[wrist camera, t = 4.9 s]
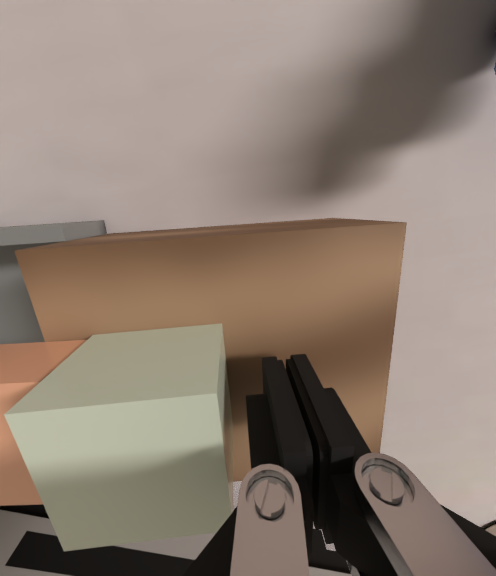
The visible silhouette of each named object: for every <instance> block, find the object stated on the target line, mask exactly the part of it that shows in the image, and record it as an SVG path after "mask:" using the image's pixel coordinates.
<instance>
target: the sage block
mask: <svg viewBox="0 0 496 576" xmlns="http://www.w3.org/2000/svg"><path fill="white" fill-rule="evenodd" d="M4 416H5V418H6V421H7V423H8V425H9V427H10V430H11V432H12V434H13V437H14V439H15V441H16V443H17V446H18V448H19V450H20V452H21V455H22V457H23V459H24V462H25V464H26V466H27V468H28V471H29V473H30V475H31V478H32V480H33V482H34V484H35V487H36V489H37V491H38V494H39V496H40V498H41V500H42V503H43V505H44V507H45V510H46V512H47V514H48V516H49V519H50V521H51V523H52V525H53V528H54V530H55V532H56V535H57V537H58V539H59V541H60V544H61V546H62V548H63V551H72V550H80V549H88V548H96V547H104V546H112V545H120V544H128V543H136V542H144V541H152V540H160V539H168V538H176V537H184V536H192V535H200V534H208V533H216V532H217V531H218V530H219V529H220V528H221V526H222V525H223V524H224V522H225V521H226V520H227V519H228V517H229V516H230V515H231V514H232V512H233V511H234V508H233V422H232V413H231V403H230V393H229V384H228V374H227V365H226V355H225V346H224V336H223V327H222V323H221V324H210V325H198V326H187V327H176V328H164V329H153V330H142V331H130V332H119V333H108V334H97V335H92V336H91V337H90V338H89V339H88V340H87V341H86V342H84V343H83V344H82V345H81V346H80V347H79V348H78V349H77V350H75V351H74V352H73V353H72V354H71V355H70V356H69V357H68V358H67V359H65V360H64V361H63V362H62V363H61V364H60V365H59V366H58V367H56V368H55V369H54V370H53V371H52V372H51V373H50V374H49V375H48V376H46V377H45V378H44V379H43V380H42V381H41V382H40V383H39V384H38V385H36V386H35V387H34V388H33V389H32V390H31V391H30V392H29V393H27V394H26V395H25V396H24V397H23V398H22V399H21V400H20V401H19V402H17V403H16V404H15V405H14V406H13V407H12V408H11V409H10V410H8V411H7V412H6V413H5V414H4Z"/></svg>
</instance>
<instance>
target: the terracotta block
mask: <svg viewBox="0 0 496 576" xmlns="http://www.w3.org/2000/svg"><path fill="white" fill-rule="evenodd" d="M86 341H87V340H72V341H53V342H35V343H16V344H0V506H6V505H40V504H43V503H42V500H41V498H40V496H39V494H38V491H37V489H36V487H35V484H34V482H33V480H32V478H31V475H30V473H29V471H28V468H27V466H26V464H25V462H24V459H23V457H22V455H21V452H20V450H19V448H18V446H17V443H16V441H15V439H14V437H13V434H12V432H11V430H10V427H9V425H8V423H7V421H6V418H5V416H4V414H5V413H6V412H7V411H8V410H10V409H11V408H12V407H13V406H14V405H15V404H16V403H17V402H19V401H20V400H21V399H22V398H23V397H24V396H25V395H26V394H27V393H29V392H30V391H31V390H32V389H33V388H34V387H35V386H36V385H38V384H39V383H40V382H41V381H42V380H43V379H44V378H45V377H46V376H48V375H49V374H50V373H51V372H52V371H53V370H54V369H55V368H56V367H58V366H59V365H60V364H61V363H62V362H63V361H64V360H65V359H67V358H68V357H69V356H70V355H71V354H72V353H73V352H74V351H75V350H77V349H78V348H79V347H80V346H81V345H82V344H83V343H84V342H86Z"/></svg>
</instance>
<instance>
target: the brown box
mask: <svg viewBox="0 0 496 576" xmlns="http://www.w3.org/2000/svg"><path fill="white" fill-rule="evenodd" d="M406 224H407V223H406V222H390V221H373V220H356V219H340V218H327V219H313V220H299V221H284V222H270V223H256V224H242V225H227V226H213V227H199V228H184V229H170V230H156V231H141V232H127V233H113V234H105V235H99V236H93V237H88V238H82V239H77V240H71V241H65V242H60V243H54V244H49V245H43V246H37V247H32V248H26V249H20V250H15V251H14V252H15V254H16V257H17V260H18V263H19V266H20V269H21V272H22V275H23V278H24V281H25V284H26V287H27V290H28V293H29V296H30V299H31V302H32V305H33V308H34V311H35V314H36V316H37V319H38V322H39V325H40V328H41V331H42V334H43V337H44V340H45V342H53V341H72V340H88V339H89V338H90V337H91V336H92V335H97V334H108V333H119V332H130V331H142V330H153V329H164V328H176V327H187V326H198V325H210V324H221V323H222V327H223V336H224V346H225V355H226V365H227V374H228V384H229V393H230V403H231V413H232V422H233V482H234V481H243V479H244V477H245V476H246V474H247V473H248V472H249V471H251V461H250V449H249V436H248V423H247V409H246V395H255V394H263V375H262V357H273V356H276V357H277V360H282V361H283V363H284V366H285V369H286V359H290V356H291V355H296V354H306V355H307V357H308V359H309V361H310V363H311V365H312V367H313V369H314V371H315V372H316V374H317V376H318V378H319V380H320V382H321V384H322V386H323V388H331V387H332V388H333V389H334V390H335V391H336V393H337V394H338V396H339V398H340V399H341V401H342V403H343V405H344V406H345V408H346V410H347V411H348V413H349V415H350V417H351V418H352V420H353V422H354V423H355V425H356V427H357V428H358V430H359V432H360V434H361V435H362V437H363V439H364V440H365V442H366V444H367V446H368V447H369V449H370V451H371V452H372V453H380V445H381V437H382V428H383V420H384V411H385V403H386V394H387V386H388V377H389V369H390V360H391V352H392V343H393V335H394V326H395V318H396V309H397V301H398V292H399V284H400V275H401V267H402V258H403V250H404V241H405V233H406Z"/></svg>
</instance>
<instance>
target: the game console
mask: <svg viewBox="0 0 496 576" xmlns="http://www.w3.org/2000/svg"><path fill="white" fill-rule="evenodd" d="M216 533H217V532H216ZM216 533H208V534H200V535H192V536H184V537H176V538H168V539H160V540H152V541H144V542H136V543H128V544H120V545H112V546H104V547H96V548H88V549H80V550H72V551H63V548H62V546H61V544H60V541H59V539H58V537H57V535H56V532H55V530H54V528H53V525H52V523H51V521H50V519H49V516H48V514H47V512H46V510H45V507H44V505H43V504H40V505H6V506H0V576H183V575H184V573H185V572H186V571H187V569H188V568H189V567H190V566H191V564H192V563H193V562H194V561H195V559H196V558H197V557H198V555H199V554H200V553H201V552H202V550H203V549H204V548H205V547H206V545H207V544H208V543H209V541H210V540H211V539H212V538H213V536H214V535H215V534H216ZM308 566H309V575H310V576H352V575H351V573H350V570H349V567H348V564H347V561H346V559H344V558H343V557H342V556H341V555H340V554H339V553H337V552H336V551H331V550H326V547H325V543H324V539H323V536H322V532H321V530H316V529H313V534H312V555H311V558H310V560H309V562H308Z"/></svg>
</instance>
